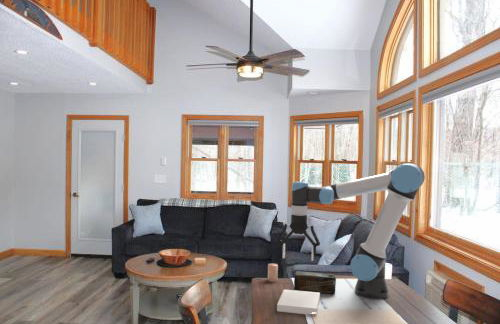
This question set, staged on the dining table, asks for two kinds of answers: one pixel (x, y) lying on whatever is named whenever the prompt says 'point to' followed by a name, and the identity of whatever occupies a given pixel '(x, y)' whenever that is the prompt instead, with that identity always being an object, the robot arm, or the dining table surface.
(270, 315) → the dining table surface
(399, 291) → the dining table surface
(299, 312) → the white flat slab
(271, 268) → the peach rounded cylinder
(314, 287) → the beverage carton
